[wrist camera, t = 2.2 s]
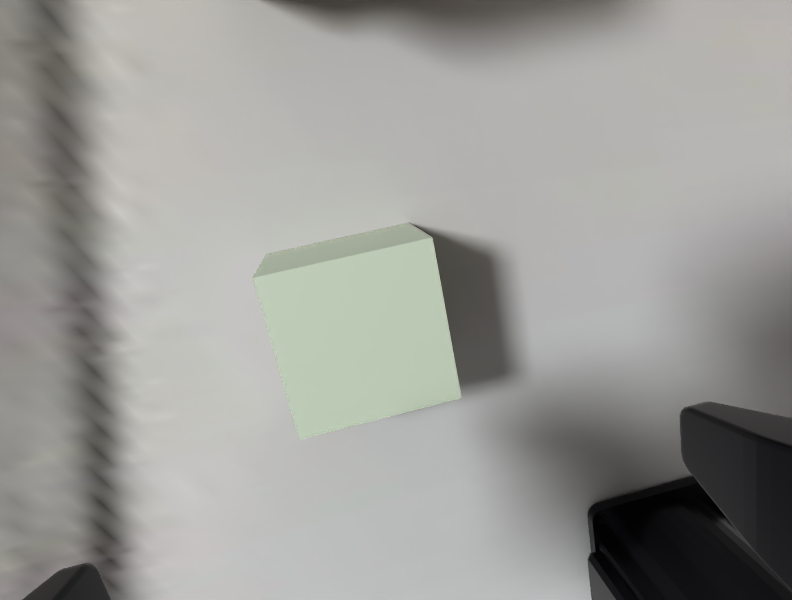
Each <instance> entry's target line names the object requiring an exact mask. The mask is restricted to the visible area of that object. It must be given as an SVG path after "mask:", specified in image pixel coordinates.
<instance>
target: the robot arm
mask: <svg viewBox="0 0 792 600" xmlns="http://www.w3.org/2000/svg"><path fill="white" fill-rule="evenodd" d="M680 433H681V453H682V458H683V461H684V463H685V465H686V467H687V468H688V470H689V471H690V473H691V474H692V475H693V476H694V477H692V478H688V479H684V480H681V481H677V482H673V483H670V484H666V485H662V486H659V487H655V488H651V489H648V490H644V491H640V492H637V493H633V494H629V495H626V496H622V497H618V498H615V499H611V500H607V501H604V502H600V503H597V504H595V505H593V506H592V507H591V508H590V509H589V511H588V524H589V534H590V544H591V553H590V554H589V557H588V568H589V578H590V587H591V597H592V600H792V418H788V417H783V416H778V415H773V414H768V413H763V412H758V411H753V410H748V409H743V408H739V407H734V406H729V405H724V404H719V403H714V402H703V403H699V404H695V405H691V406H688V407H685V408H684V409H683V410H682V411H681V414H680ZM602 514H603V516H602V517H600V518H599V516H600V515H602ZM22 600H111V597H110V595H109V593H108V590H107V588H106V586H105V583H104V581H103V579H102V577H101V574H100V572H99V570H98V568H97V567H96V566H95V565H94V564H92V563H84V564H80V565H76V566H72V567H68V568H64V569H62V570H60V571H58V572H56V573H55V574H54V575H53V576H51V577H50V578H49V579H48V580H46V581H45V582H44V583H43V584H41V585H40V586H39V587H37V588H36V589H35V590H34V591H32V592H31V593H30V594H29V595H27V596H26V597H25V598H24V599H22Z"/></svg>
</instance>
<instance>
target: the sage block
mask: <svg viewBox="0 0 792 600" xmlns="http://www.w3.org/2000/svg"><path fill="white" fill-rule="evenodd" d="M253 281H254V285H255V288H256V292H257V295H258V299H259V302H260V306H261V309H262V313H263V316H264V320H265V323H266V327H267V330H268V334H269V337H270V341H271V344H272V348H273V351H274V355H275V358H276V362H277V365H278V369H279V372H280V376H281V379H282V383H283V386H284V390H285V393H286V397H287V400H288V404H289V407H290V411H291V414H292V418H293V421H294V424H295V428H296V431H297V435H298V438H299V440H300V439H304V438H308V437H312V436H316V435H320V434H324V433H328V432H331V431H335V430H339V429H343V428H347V427H351V426H355V425H359V424H363V423H367V422H371V421H375V420H378V419H382V418H386V417H390V416H394V415H398V414H402V413H406V412H410V411H414V410H418V409H422V408H425V407H429V406H433V405H437V404H441V403H445V402H449V401H453V400H457V399H461V398H462V397H461V392H460V386H459V381H458V375H457V370H456V364H455V359H454V353H453V348H452V342H451V337H450V331H449V326H448V320H447V315H446V309H445V304H444V298H443V292H442V287H441V281H440V276H439V270H438V265H437V259H436V254H435V248H434V243H433V237H431V236H429V235H428V234H426V233H425V232H423V231H421V230H420V229H418V228H417V227H415V226H413V225H412V224H410V223H405V224H400V225H396V226H391V227H387V228H382V229H378V230H373V231H369V232H364V233H360V234H355V235H351V236H346V237H342V238H337V239H333V240H328V241H324V242H319V243H315V244H310V245H306V246H301V247H297V248H292V249H288V250H283V251H279V252H274V253H270V254H266V256H265V257H264V259H263V261H262V263H261V264H260V266H259V268H258V269H257V271H256V273H255V275H254V276H253Z"/></svg>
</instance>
